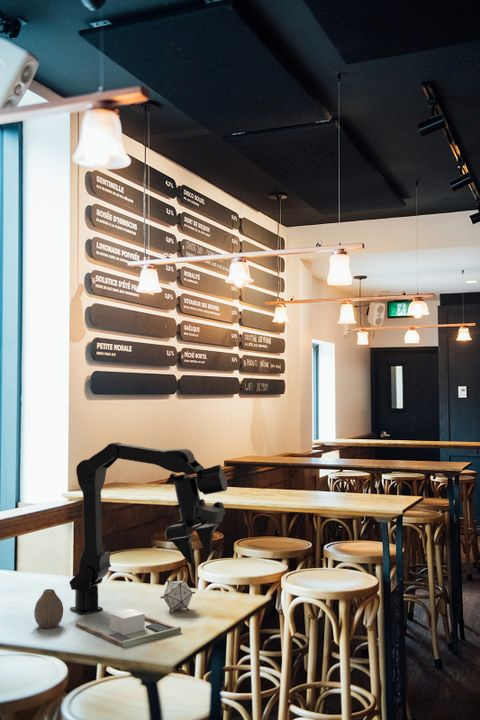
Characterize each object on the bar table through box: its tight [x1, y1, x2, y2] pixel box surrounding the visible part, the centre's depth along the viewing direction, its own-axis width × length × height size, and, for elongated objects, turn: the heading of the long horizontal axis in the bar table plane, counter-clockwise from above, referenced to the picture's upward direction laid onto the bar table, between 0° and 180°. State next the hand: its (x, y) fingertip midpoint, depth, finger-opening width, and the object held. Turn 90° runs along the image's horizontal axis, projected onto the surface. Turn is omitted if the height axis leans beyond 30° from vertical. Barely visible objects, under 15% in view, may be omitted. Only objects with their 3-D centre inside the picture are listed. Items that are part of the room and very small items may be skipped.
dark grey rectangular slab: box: [108, 623, 170, 641], centre depth 181 cm, size 6×14×1 cm, turn 132°
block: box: [109, 608, 146, 636], centre depth 185 cm, size 6×6×4 cm
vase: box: [33, 588, 64, 630], centre depth 188 cm, size 7×7×9 cm
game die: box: [159, 577, 196, 613], centre depth 202 cm, size 9×8×10 cm
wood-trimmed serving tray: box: [75, 615, 182, 648], centre depth 185 cm, size 21×16×1 cm
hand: (200, 558), depth 195 cm, fingers open, 9 cm apart
